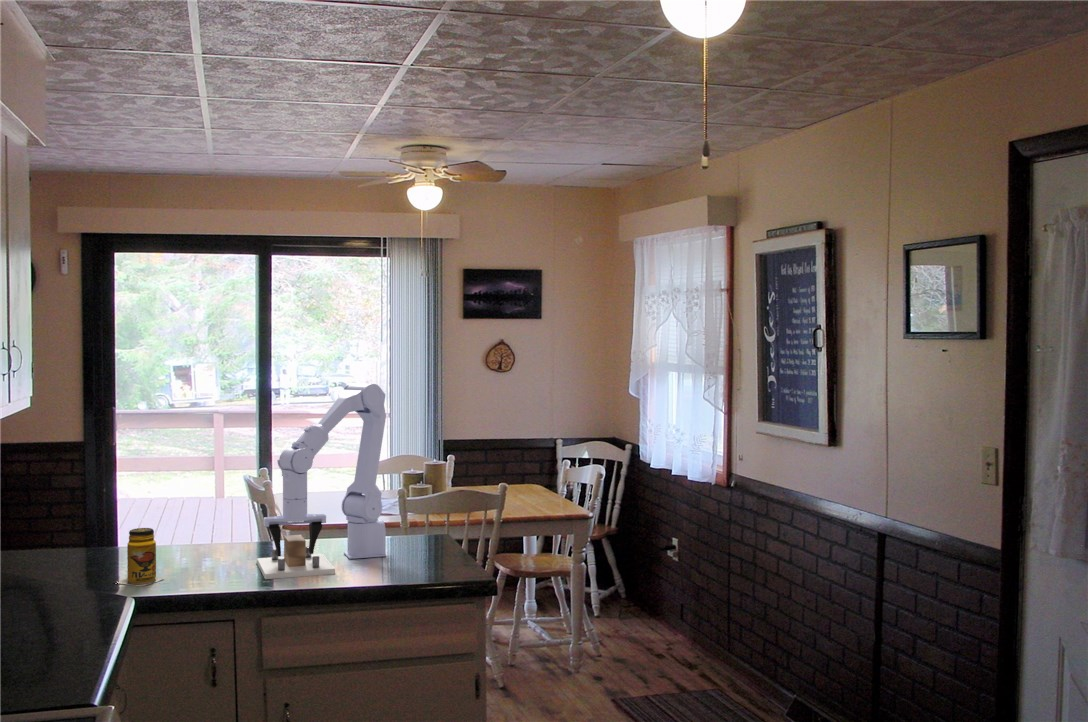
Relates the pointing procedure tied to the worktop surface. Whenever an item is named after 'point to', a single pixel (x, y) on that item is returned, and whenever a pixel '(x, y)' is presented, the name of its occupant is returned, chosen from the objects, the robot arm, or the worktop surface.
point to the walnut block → (294, 550)
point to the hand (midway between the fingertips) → (295, 554)
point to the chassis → (280, 569)
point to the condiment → (141, 558)
